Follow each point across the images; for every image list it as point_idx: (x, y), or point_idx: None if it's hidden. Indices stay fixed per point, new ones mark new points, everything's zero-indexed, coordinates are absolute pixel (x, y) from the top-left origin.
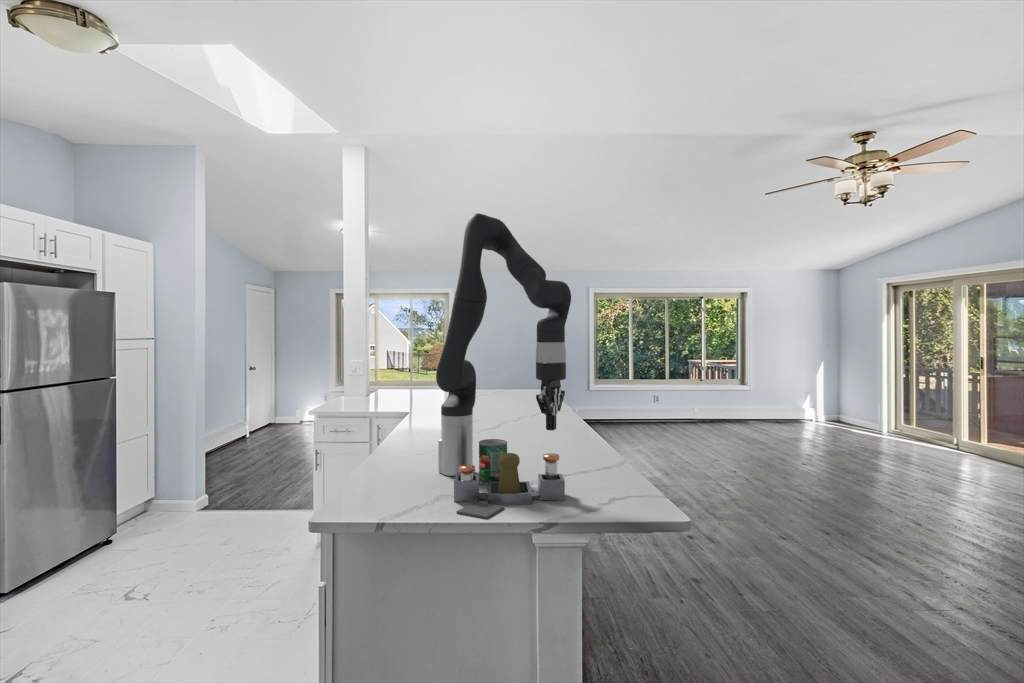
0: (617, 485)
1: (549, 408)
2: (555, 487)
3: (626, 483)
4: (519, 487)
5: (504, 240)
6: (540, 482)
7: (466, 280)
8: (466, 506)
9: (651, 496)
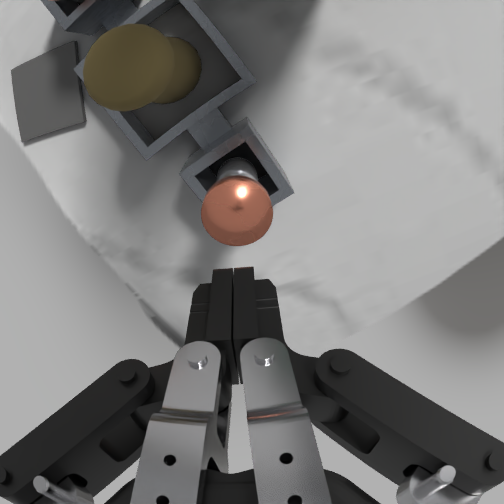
0: (403, 259)
1: (122, 440)
2: None
3: (421, 268)
4: (168, 99)
5: None
6: (180, 172)
7: None
8: (39, 57)
9: (348, 329)
